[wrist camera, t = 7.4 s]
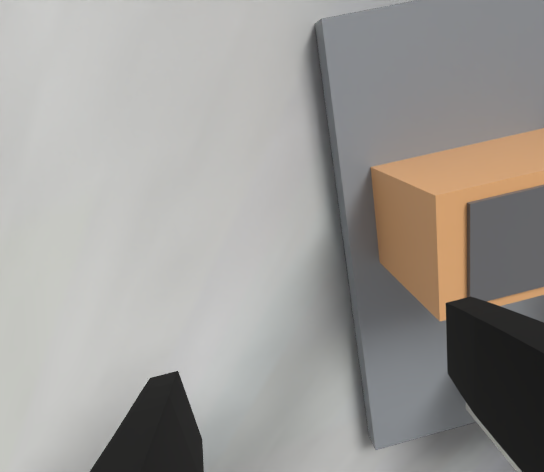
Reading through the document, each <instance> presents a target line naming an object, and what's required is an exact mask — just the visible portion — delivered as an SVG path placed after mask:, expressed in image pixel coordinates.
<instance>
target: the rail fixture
mask: <svg viewBox="0 0 544 472" xmlns="http://www.w3.org/2000/svg"><path fill="white" fill-rule="evenodd" d="M315 30H316V37H317V45H318V52H319V60H320V68H321V75H322V83H323V90H324V98H325V106H326V113H327V121H328V128H329V136H330V144H331V151H332V159H333V166H334V174H335V182H336V189H337V197H338V204H339V212H340V220H341V227H342V235H343V242H344V250H345V258H346V265H347V273H348V280H349V288H350V296H351V303H352V311H353V318H354V326H355V334H356V341H357V349H358V356H359V364H360V372H361V379H362V387H363V394H364V402H365V410H366V417H367V425H368V432H369V437H370V439H371V441H372V443H373V446H374V448H375V450H378V449H381V448H385V447H389V446H392V445H396V444H399V443H403V442H407V441H410V440H414V439H417V438H421V437H425V436H428V435H432V434H435V433H439V432H442V431H446V430H450V429H453V428H457V427H460V426H464V425H468V424H471V423H475V422H477V423H478V425H479V426H480V427H481V428H482V430H483V431H484V432H485V433H486V434H487V436H488V437H489V438H490V439H491V441H492V442H493V443H494V444H495V445H496V447H497V448H498V449H499V450H500V452H501V453H502V454H503V455H504V457H505V458H506V459H507V460H508V461H509V463H510V464H511V465H512V466H513V468H514V469H515V470H516V471H517V472H522V471H521V470H520V469H519V468H518V466H517V465H516V464H515V463H514V462H513V460H512V459H511V458H510V457H509V456H508V454H507V453H506V452H505V451H504V450H503V449H502V447H501V446H500V445H499V444H498V442H497V441H496V440H495V439H494V438H493V436H492V435H491V434H490V433H489V432H488V430H487V429H486V428H485V427H484V426H483V424H482V423H481V422H480V421H479V419H478V418H477V417H476V416H475V415H474V413H473V412H472V410H471V409H470V407H469V406H468V404H467V403H466V401H465V400H464V398H463V397H462V395H461V394H460V392H459V391H458V389H457V388H456V386H455V384H454V383H453V381H452V380H451V378H450V377H449V375H448V372H447V334H446V320H444V321H439V320H438V319H437V318H436V317H435V316H433V315H432V314H431V313H430V312H429V311H428V310H427V309H426V308H425V307H424V306H423V305H422V304H421V303H420V302H419V301H418V300H417V299H416V298H415V297H414V296H413V295H412V294H411V293H410V292H409V291H408V290H407V289H406V288H405V287H404V286H403V285H402V284H401V283H400V282H399V281H398V280H397V279H396V278H395V277H394V276H393V275H392V274H391V273H390V272H389V271H388V270H387V269H386V268H385V267H384V266H383V265H382V264H381V263H380V261H379V250H378V240H377V229H376V219H375V209H374V198H373V188H372V177H371V167H373V166H378V165H382V164H386V163H391V162H395V161H400V160H404V159H409V158H413V157H418V156H422V155H427V154H431V153H435V152H440V151H444V150H449V149H453V148H458V147H462V146H467V145H471V144H476V143H480V142H484V141H489V140H493V139H498V138H502V137H507V136H511V135H516V134H520V133H525V132H529V131H533V130H538V129H542V128H544V0H416V1H411V2H406V3H400V4H395V5H390V6H385V7H380V8H375V9H370V10H364V11H359V12H354V13H349V14H344V15H339V16H334V17H328V18H323V19H321V20H319V21H318V22H317V23H315ZM501 307H504V308H506V309H509V310H512V311H514V312H517V313H520V314H523V315H525V316H528V317H531V318H533V319H536V320H539V321H541V322H544V295H541V296H537V297H534V298H530V299H526V300H522V301H518V302H514V303H510V304H506V305H502V306H501Z"/></svg>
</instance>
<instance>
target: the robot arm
mask: <svg viewBox="0 0 544 472" xmlns="http://www.w3.org/2000/svg"><path fill="white" fill-rule="evenodd" d="M446 334H447V372H448V375H449V377H450V378H451V380H452V381H453V383H454V384H455V386H456V388H457V389H458V391H459V392H460V394H461V395H462V397H463V398H464V400H465V401H466V403H467V404H468V406H469V407H470V409H471V410H472V412H473V413H474V415H475V416H476V417H477V418H478V419H479V421H480V422H481V423H482V424H483V426H484V427H485V428H486V429H487V430H488V432H489V433H490V434H491V435H492V436H493V438H494V439H495V440H496V441H497V442H498V444H499V445H500V446H501V447H502V449H503V450H504V451H505V452H506V453H507V454H508V456H509V457H510V458H511V459H512V460H513V462H514V463H515V464H516V465H517V466H518V468H519V469H520V470H521V471H522V472H544V322H541V321H539V320H536V319H533V318H531V317H528V316H525V315H523V314H520V313H517V312H514V311H512V310H509V309H506V308H504V307H501V306H498V305H495V304H492V303H490V302H487V301H484V300H481V299H477V298H474V297H467V298H463V299H459V300H455V301H451V302H447V303H446ZM90 472H204V471H203V449H202V438H201V435H200V432H199V429H198V426H197V424H196V421H195V418H194V415H193V412H192V409H191V407H190V404H189V401H188V398H187V395H186V392H185V390H184V387H183V384H182V381H181V378H180V375H179V372H178V371H176V372H172V373H168V374H164V375H160V376H156V377H152V378H150V379H149V381H148V382H147V384H146V385H145V387H144V388H143V390H142V391H141V393H140V394H139V396H138V398H137V399H136V401H135V402H134V404H133V406H132V407H131V409H130V410H129V412H128V414H127V415H126V417H125V418H124V420H123V422H122V423H121V425H120V426H119V428H118V429H117V431H116V433H115V434H114V436H113V437H112V439H111V440H110V442H109V443H108V445H107V446H106V448H105V449H104V451H103V452H102V454H101V456H100V457H99V459H98V460H97V462H96V463H95V465H94V466H93V468H92V469H91V471H90Z"/></svg>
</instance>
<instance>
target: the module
mask: <svg viewBox="0 0 544 472" xmlns="http://www.w3.org/2000/svg"><path fill="white" fill-rule="evenodd" d="M371 177H372V188H373V198H374V209H375V219H376V229H377V240H378V250H379V261H380V263H381V264H382V265H383V266H384V267H385V268H386V269H387V270H388V271H389V272H390V273H391V274H392V275H393V276H394V277H395V278H396V279H397V280H398V281H399V282H400V283H401V284H402V285H403V286H404V287H405V288H406V289H407V290H408V291H409V292H410V293H411V294H412V295H413V296H414V297H415V298H416V299H417V300H418V301H419V302H420V303H421V304H422V305H423V306H424V307H425V308H426V309H427V310H428V311H429V312H430V313H431V314H432V315H433V316H435V317H436V318H437V319H438V320H439V321H444V320H446V303H447V302H451V301H455V300H459V299H463V298H467V297H474V298H477V299H481V300H484V301H487V302H490V303H492V304H495V305H498V306H502V305H506V304H510V303H514V302H518V301H522V300H526V299H530V298H534V297H537V296H541V295H544V128H542V129H538V130H533V131H529V132H525V133H520V134H516V135H511V136H507V137H502V138H498V139H493V140H489V141H484V142H480V143H476V144H471V145H467V146H462V147H458V148H453V149H449V150H444V151H440V152H435V153H431V154H427V155H422V156H418V157H413V158H409V159H404V160H400V161H395V162H391V163H386V164H382V165H378V166H373V167H371Z"/></svg>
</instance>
